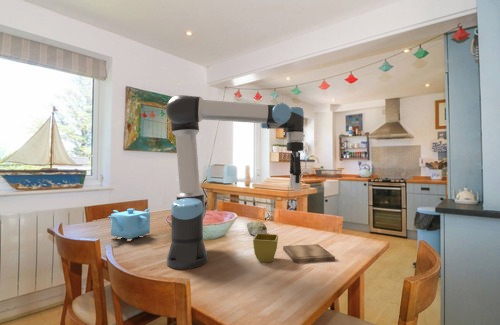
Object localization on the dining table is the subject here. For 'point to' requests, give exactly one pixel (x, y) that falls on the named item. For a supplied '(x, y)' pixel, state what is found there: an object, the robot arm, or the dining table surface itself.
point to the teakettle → (130, 223)
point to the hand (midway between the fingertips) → (294, 189)
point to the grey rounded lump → (256, 228)
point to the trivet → (308, 253)
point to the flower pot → (265, 246)
